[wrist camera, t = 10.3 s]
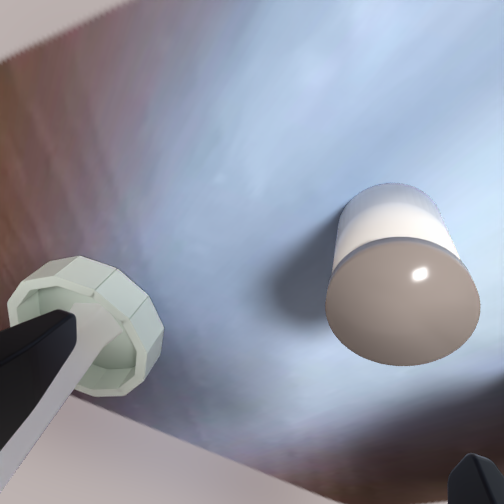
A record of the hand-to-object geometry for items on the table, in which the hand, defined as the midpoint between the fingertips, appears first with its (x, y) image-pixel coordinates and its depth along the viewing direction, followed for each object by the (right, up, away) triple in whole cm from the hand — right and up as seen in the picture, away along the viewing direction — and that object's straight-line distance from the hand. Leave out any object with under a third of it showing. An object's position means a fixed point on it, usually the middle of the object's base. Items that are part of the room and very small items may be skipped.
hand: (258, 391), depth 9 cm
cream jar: (+7, +4, +11) cm, 14 cm away
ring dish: (-11, -2, +20) cm, 23 cm away
